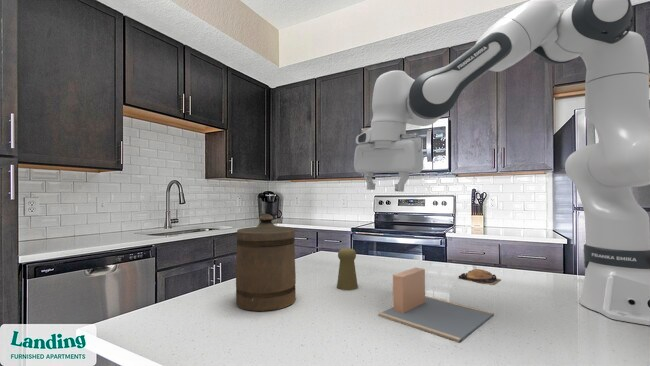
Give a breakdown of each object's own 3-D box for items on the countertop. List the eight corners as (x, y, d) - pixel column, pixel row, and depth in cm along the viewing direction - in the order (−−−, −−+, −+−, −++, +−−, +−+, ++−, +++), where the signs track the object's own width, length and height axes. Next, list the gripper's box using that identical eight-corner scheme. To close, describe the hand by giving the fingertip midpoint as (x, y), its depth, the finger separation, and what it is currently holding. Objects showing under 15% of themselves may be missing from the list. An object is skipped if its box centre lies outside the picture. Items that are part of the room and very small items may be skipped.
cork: (362, 287, 91) (361, 249, 92) (345, 291, 88) (345, 251, 88) (349, 282, 96) (348, 246, 97) (332, 286, 93) (332, 248, 93)
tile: (425, 302, 78) (424, 269, 78) (402, 313, 71) (402, 277, 71) (416, 299, 80) (415, 267, 80) (393, 310, 73) (392, 275, 73)
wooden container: (283, 288, 91) (283, 211, 92) (304, 305, 78) (304, 214, 79) (230, 297, 84) (230, 213, 85) (244, 316, 71) (243, 217, 72)
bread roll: (502, 281, 98) (502, 269, 98) (493, 287, 92) (492, 274, 92) (466, 275, 106) (466, 264, 106) (455, 280, 100) (455, 268, 100)
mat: (493, 315, 71) (493, 312, 71) (459, 342, 58) (459, 339, 58) (419, 296, 84) (419, 294, 84) (378, 315, 71) (378, 313, 71)
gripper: (430, 134, 75) (427, 193, 75) (367, 140, 91) (364, 189, 91) (414, 130, 71) (410, 192, 71) (351, 137, 87) (348, 188, 87)
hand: (384, 190), depth 81 cm, fingers open, 8 cm apart
